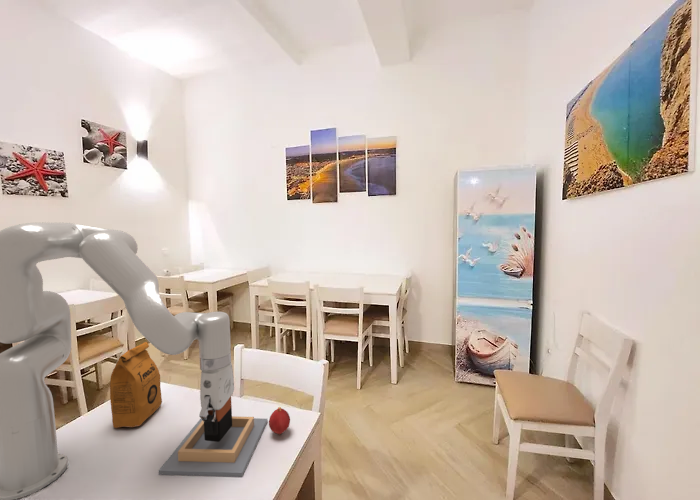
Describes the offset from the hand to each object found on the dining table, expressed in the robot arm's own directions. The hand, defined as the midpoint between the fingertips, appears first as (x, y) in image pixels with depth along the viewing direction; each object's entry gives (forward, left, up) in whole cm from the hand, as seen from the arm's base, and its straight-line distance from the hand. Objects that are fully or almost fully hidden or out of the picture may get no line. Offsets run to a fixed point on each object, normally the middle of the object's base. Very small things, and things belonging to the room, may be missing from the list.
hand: (218, 423), depth 82 cm
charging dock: (0, 0, -6) cm, 6 cm away
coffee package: (-30, +11, -6) cm, 33 cm away
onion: (+15, +5, -6) cm, 17 cm away
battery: (0, 0, -3) cm, 3 cm away
